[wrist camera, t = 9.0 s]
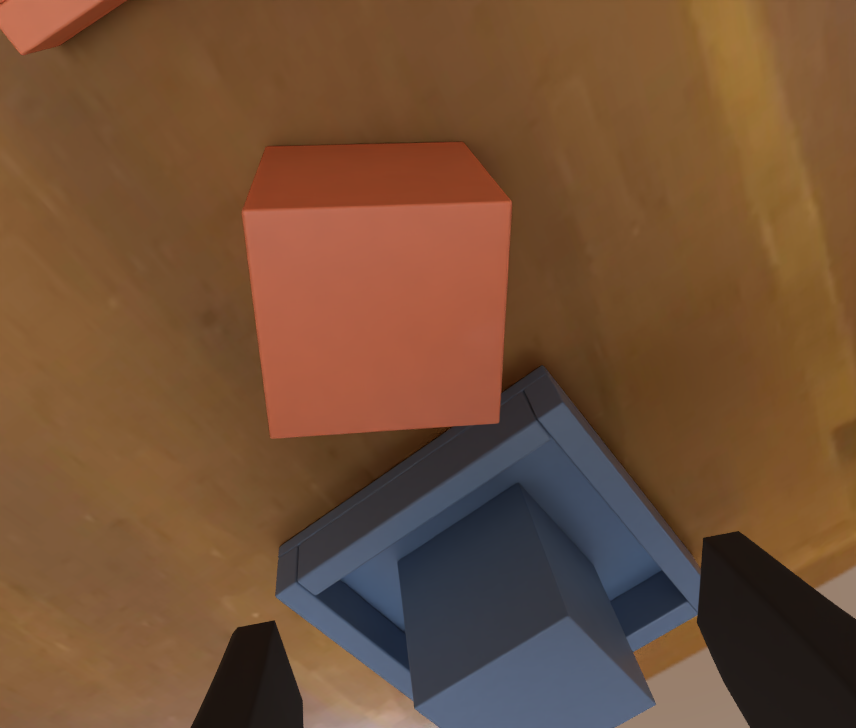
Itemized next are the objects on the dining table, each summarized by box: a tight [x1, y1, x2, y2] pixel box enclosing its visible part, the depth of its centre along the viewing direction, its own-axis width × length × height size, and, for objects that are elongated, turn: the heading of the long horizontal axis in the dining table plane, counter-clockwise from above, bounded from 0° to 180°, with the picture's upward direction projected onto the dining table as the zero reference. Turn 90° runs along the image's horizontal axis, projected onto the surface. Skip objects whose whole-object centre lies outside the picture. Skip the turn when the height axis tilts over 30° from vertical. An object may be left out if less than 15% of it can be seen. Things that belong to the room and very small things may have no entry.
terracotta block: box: [242, 142, 512, 439], centre depth 15 cm, size 4×4×5 cm
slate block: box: [397, 483, 656, 728], centre depth 20 cm, size 4×4×5 cm
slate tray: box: [275, 366, 701, 701], centre depth 22 cm, size 10×10×2 cm
